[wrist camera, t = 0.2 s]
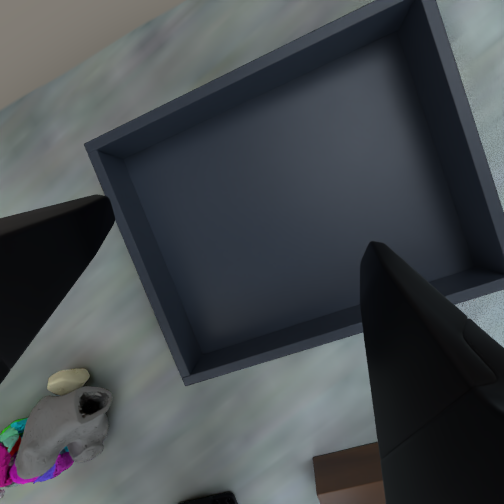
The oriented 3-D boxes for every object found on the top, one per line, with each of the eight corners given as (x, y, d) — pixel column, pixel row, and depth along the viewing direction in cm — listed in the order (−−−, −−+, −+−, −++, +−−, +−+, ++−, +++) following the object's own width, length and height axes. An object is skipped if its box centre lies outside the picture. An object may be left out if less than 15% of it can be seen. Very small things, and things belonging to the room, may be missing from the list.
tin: (484, 271, 22) (526, 283, 18) (200, 361, 26) (185, 386, 22) (401, 20, 21) (428, -27, 17) (115, 155, 25) (83, 143, 21)
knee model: (0, 428, 36) (126, 348, 29) (6, 500, 33) (147, 432, 26) (-111, 463, 28) (23, 365, 21) (-118, 563, 25) (36, 490, 18)
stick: (554, 436, 23) (603, 475, 19) (324, 486, 26) (330, 528, 23) (543, 401, 23) (591, 435, 19) (312, 457, 26) (316, 494, 22)
